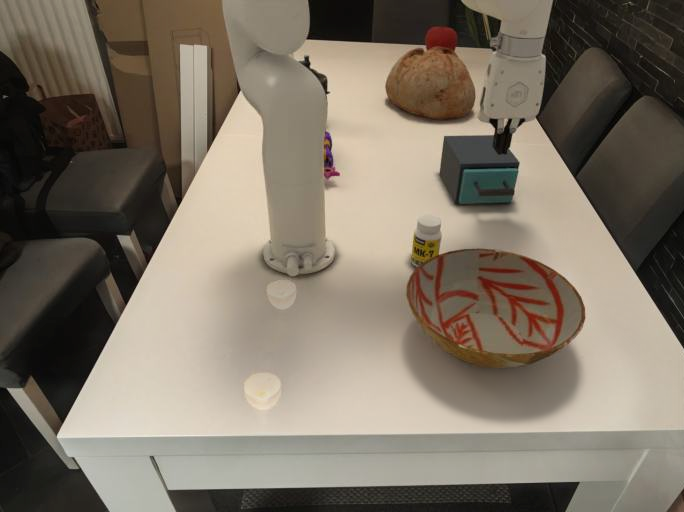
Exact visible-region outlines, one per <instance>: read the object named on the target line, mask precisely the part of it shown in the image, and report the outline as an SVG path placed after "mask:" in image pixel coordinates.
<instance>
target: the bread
mask: <svg viewBox="0 0 684 512" xmlns="http://www.w3.org/2000/svg"><path fill="white" fill-rule="evenodd" d="M384 87H385V93H386V95H387V99H389V101H390V102H391V103H392V104H394V105H395V106H397V107H398V108H401V109H402V110H403V111H405V112H407V113H410V114H412V115H416V116H420V117H425V118H427V119H428V118H429V119H431V120H440V121H443V120H455V119H458V118H462V117H463V116H466V115H468V114H469V113H471V111H472V110H473V108H474V107H475V103H476V87H475V84H474V81H473V79H472V77H471V74H470V72H469V70H468V68H467V66H466V65H465V63H464V61H463V60H462V59H461V58H459V56H458V55H457V53H456V50H455V51H453V50H451V49H448V48H443V47H440V46H436V47H433V48H431V49H429V50H428V51H427V50H424V48H423V47H416V48H413V49H411V50H409V51H407V52H405V53H404V54H403V55H402V56H401V57H400V58H399V59H397V61H396V62H395V63H394V65H393V66H392V67H391V68H390V71H389V74H388V75H387V78H386V80H385V85H384Z"/></svg>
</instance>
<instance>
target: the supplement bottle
mask: <svg viewBox="0 0 684 512" xmlns="http://www.w3.org/2000/svg"><path fill="white" fill-rule="evenodd" d="M441 227H442V220H441V218H440V217H438V216H436V215H434V214H433V215H432V214H424V215H423V214H422V215H420V216H419V217H418V218H417V224H416V227H415V229H414V231H413V237H412V248H411V256H410V257H411V258H410V260H411V263H412V265H413V266H414V267H416V268H417V267H418V266H420V265H421V264H422V263H424V262H425V261H426V260H428V259H430V258H432V257H434V256H437V255H439V254H440V249H441V243H442V233H443V232H442V229H441Z"/></svg>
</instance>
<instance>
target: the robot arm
mask: <svg viewBox="0 0 684 512" xmlns="http://www.w3.org/2000/svg"><path fill="white" fill-rule="evenodd" d="M460 1H461V3H462V4H463V5H465V6H466V7H467V8H469V9H470V10H472V11H475V12H478V13H480V14H483V15H486V16H489V17H492V18H494V19H497V20H499V21H500V28H499V31H498V33H497V36H495V37H491V38H490V39H489V46H490V48H495V49H496V50H495V51H493V52H492V54H491V56H490V59H489V61H488V65H487V67H486V70H485V71H486V72H485V76H484V79H483V83H482V87H481V88H482V89H481V93H480V99H479V108H480V109H479V111H478V113H477V119H478V120H479V121H480V122H482V123H486V124H490V125H491V126H492V127H493V129H494V133H493V135H494V138H493V144H492V146H493V148H494V150H495V151H496V153H497V154H498V155H501V154H504V155H506V154H507V151H508V148H509V149H510V148H511V144H512V139H513V135H514V134H515V133H516V132H517V129H519V127H521V126H522V125H523V124H524V123H528V122H532V121H535V119H536V116H537V115H538V114H539V112H540V109H541V105H542V100H543V93H544V88H545V81H546V80H545V79H546V64H547V63H546V62H547V57H546V55H545V54H543V48H544V44H545V40H546V35H547V29H548V25H549V21H550V16H551V13H552V7H553V2H554V0H460ZM221 7H222V15H223V19H224V24H225V29H226V34H227V40H228V45H229V48H230V52H231V57H232V62H233V66H234V70H235V74H236V79H237V82H238V85H239V88H240V91H241V93H242V95H243V97H244V98H245V100H246V101H247V103H248V104H249V105H250V106H251V108H253V110H254V111H256V112H257V114H258V115H259V117H260V118H261V121H262V143H261V156H262V158H261V159H262V169H263V177H264V185H265V186H264V187H265V196H266V205H267V206H266V207H267V217H268V226H269V235H270V240H268V241H267V242H266V244H265V245H264V247H263V249H262V251H263V252H262V253H263V255H262V256H263V260H264V261H265V263H266V264H267V265H268V267H270V268H271V269H273V270H275V271H277V272H280V273H284V274H287V275H288V276H289V277H296V276H298V275H308V274H313V273H316V272H320V271H322V270H323V269H325V268H326V267H328V266H330V265H331V263H332V262H333V261H334V259H335V256H336V249H335V246H334V244H333V242H332V241H331V240H330V239H329V238H327V235H326V194H325V176H324V136H325V131H326V128H327V121H328V120H327V119H328V114H327V112H328V108H329V107H328V106H329V105H328V106H327V101H328V97H327V98H326V94H325V91H324V89H323V87H322V85H321V83H320V81H319V80H318V79H317V77H316V76H315V75H314V74H313V73H312V72H311V71H310V70H309V69H308V68H306V67H305V66H304V65H302V64H301V63H300V62H298V61H299V60H296V59H295V56H294V53H296V52H297V51H298V50H299V49H300V48H302V47H303V45H304V44H305V42H306V40H307V38H308V36H309V33H310V25H311V15H310V14H311V13H310V6H309V0H221ZM505 120H506V122H505Z"/></svg>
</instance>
